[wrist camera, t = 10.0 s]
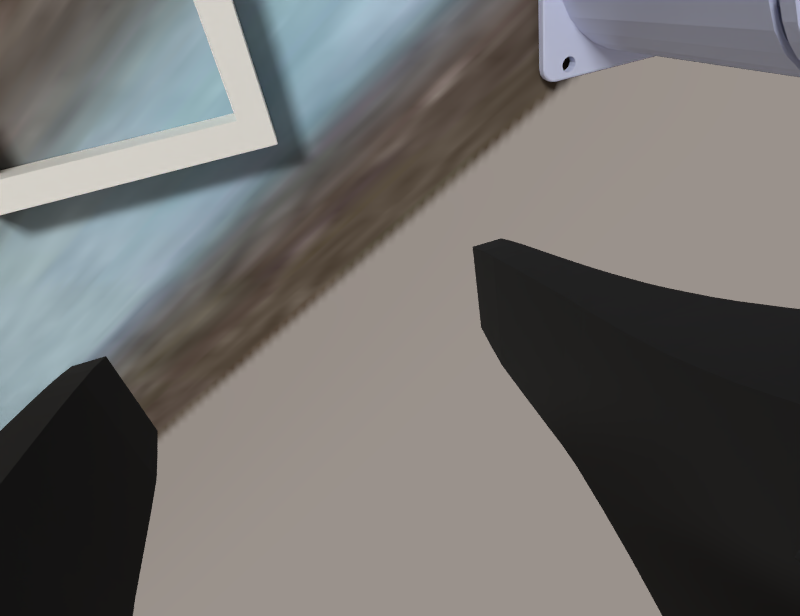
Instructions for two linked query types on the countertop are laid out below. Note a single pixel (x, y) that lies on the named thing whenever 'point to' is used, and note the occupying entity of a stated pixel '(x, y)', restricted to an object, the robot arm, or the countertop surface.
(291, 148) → the countertop surface
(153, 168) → the frame
